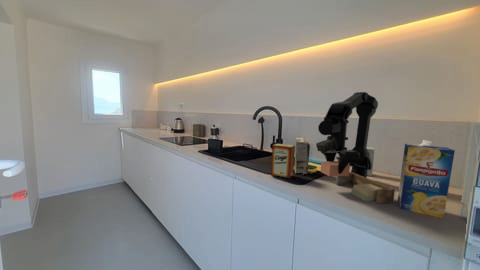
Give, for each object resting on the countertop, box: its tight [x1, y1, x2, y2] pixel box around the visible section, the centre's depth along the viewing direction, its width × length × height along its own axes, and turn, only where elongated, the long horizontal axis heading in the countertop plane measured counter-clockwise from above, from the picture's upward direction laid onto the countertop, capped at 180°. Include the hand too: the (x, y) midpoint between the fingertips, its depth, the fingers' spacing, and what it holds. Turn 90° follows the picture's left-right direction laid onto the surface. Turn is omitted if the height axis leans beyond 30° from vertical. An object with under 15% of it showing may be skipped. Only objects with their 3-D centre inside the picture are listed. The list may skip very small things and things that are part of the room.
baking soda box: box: [270, 143, 296, 179], centre depth 98 cm, size 10×6×16 cm
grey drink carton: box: [294, 141, 311, 175], centre depth 105 cm, size 9×6×16 cm
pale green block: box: [350, 184, 382, 202], centre depth 76 cm, size 9×7×4 cm
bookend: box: [330, 174, 354, 186], centre depth 90 cm, size 8×5×5 cm, turn 101°
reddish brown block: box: [320, 160, 351, 177], centre depth 81 cm, size 9×6×4 cm, turn 100°
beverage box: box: [396, 143, 456, 219], centre depth 66 cm, size 7×11×22 cm, turn 57°
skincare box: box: [366, 146, 375, 177], centre depth 106 cm, size 8×6×15 cm
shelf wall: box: [349, 171, 396, 204], centre depth 81 cm, size 6×21×5 cm, turn 11°
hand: (334, 171), depth 81 cm, fingers closed on reddish brown block, 6 cm apart
